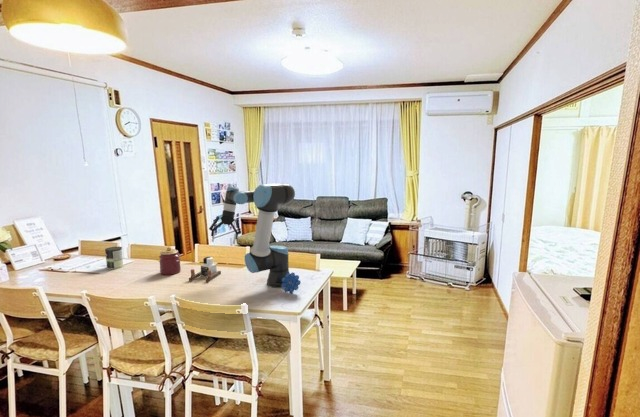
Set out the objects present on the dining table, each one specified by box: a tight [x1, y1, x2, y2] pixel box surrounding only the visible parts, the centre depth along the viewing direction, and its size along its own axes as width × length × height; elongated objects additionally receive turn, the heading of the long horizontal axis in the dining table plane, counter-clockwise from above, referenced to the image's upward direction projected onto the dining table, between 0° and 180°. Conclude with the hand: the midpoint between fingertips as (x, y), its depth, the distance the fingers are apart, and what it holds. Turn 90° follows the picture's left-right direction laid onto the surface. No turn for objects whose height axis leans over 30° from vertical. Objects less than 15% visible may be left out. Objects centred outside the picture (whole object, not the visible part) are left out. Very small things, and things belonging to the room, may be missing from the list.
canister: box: [158, 246, 182, 276], centre depth 226 cm, size 13×13×18 cm
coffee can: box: [104, 246, 124, 270], centre depth 238 cm, size 10×10×14 cm
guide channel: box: [188, 268, 222, 283], centre depth 215 cm, size 17×14×6 cm
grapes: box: [280, 272, 301, 294], centre depth 189 cm, size 12×7×12 cm, turn 74°
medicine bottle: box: [200, 256, 218, 278], centre depth 219 cm, size 7×7×12 cm
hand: (223, 242), depth 216 cm, fingers open, 13 cm apart
